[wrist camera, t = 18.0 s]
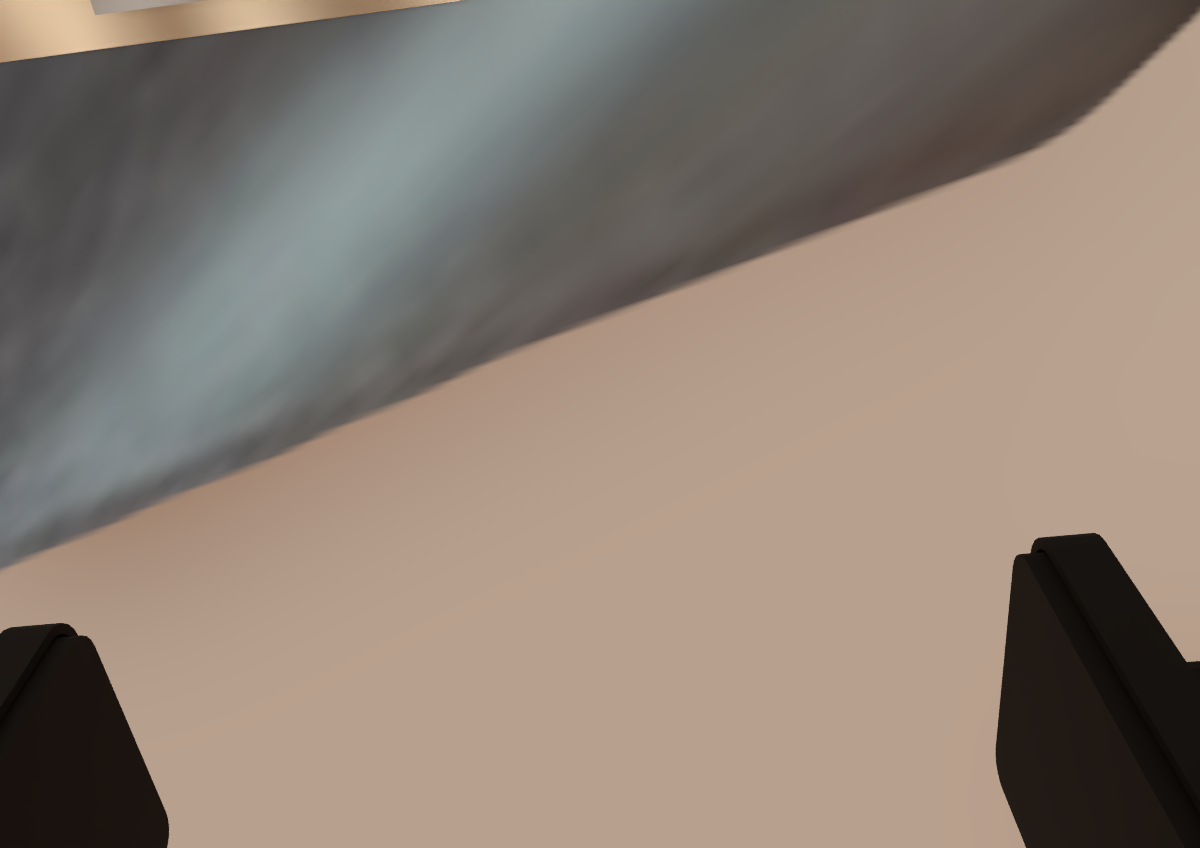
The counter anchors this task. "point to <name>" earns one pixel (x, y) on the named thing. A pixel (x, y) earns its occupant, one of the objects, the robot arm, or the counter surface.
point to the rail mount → (155, 20)
